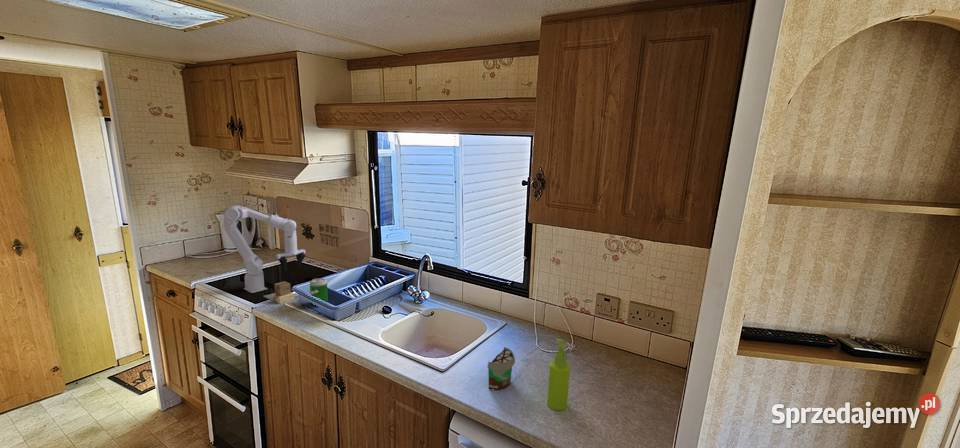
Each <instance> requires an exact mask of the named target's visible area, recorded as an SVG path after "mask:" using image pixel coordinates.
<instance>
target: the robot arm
mask: <svg viewBox="0 0 960 448" xmlns="http://www.w3.org/2000/svg"><path fill="white" fill-rule="evenodd" d="M222 216H223V223H222V224H223V225H222V226H223V227H222V228H223V230H224V231H225V233H226V234H227V236H228V238H229V239H230V241H231V242H232V244H233V245H234V247H235V248H236V251H237V252H238V253H239V255H240V256H241V258H242V260H243V265H244V267H245V272H246V273H245V274H244V288H243V290H246V291H247V292H249V293H252V294H253V293H257V292H262V291H265V290H268V287H265V280H264V279H265V278H264V271H263V269H262V268H263V266H264V261H263V260H262V259H261V258H259V257H258V255H257V254H255V253H254V252H253V251H252V249H251V247H250V246H249V244H248V243H247V240H246V239H245V237H244V236H243V234H242V232H241V231H240V230H239V228H238V223H239V220H240V219H245V218H250V219H251V218H252V219H253V220H254V219H255V220H258V221H262V222H265V223H266V224H267V226H268V227H272V228H276V229H279V230H282V231H284V232H283V233H284V235H283V239H284V252H281V253H278V254H277V253H276V254H275V255H276V259H277V260H278V262H279V263H280V265H281V267H282V270H283V272H288V266H287V265H288V257H293V256H295V257H296V264H297V265H296V267H297V268H299V269H301V268H302V265H303V261H304V260H305V257H306V249H298V238H297V236H298V235H297V230H296V228H297V222H296V221H295V220H293V219H288V218H287V217H286V218H283V217H280V216H279V215H278V214H271V215H267V214H264V213H262V212H259V211H257V210H254V209H252V208H249V207H246V206H242V205H239V204H234V205H232V206H231V207H228V208H227V209H226V210H225V212H224V213H223V215H222Z"/></svg>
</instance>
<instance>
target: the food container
mask: <svg viewBox="0 0 960 448" xmlns="http://www.w3.org/2000/svg"><path fill="white" fill-rule="evenodd" d="M515 363H516V358H515V355H514V352H513V351H512V349H510V348H508V347H506V346H503V350H501V352H500V353H498V354H497V355H496V356H495V358H493V360H492V361H488V363H487V369H488V371H487V372H488V374H487V375H488V389H489V390H491V389H494V390H493V391H502V390H501V389H503V390H506V389H508V388H509V387H510V385H511V379H512V371H513V366H514V365H515ZM508 386H509V387H508ZM507 387H508V388H507ZM505 388H506V389H505Z"/></svg>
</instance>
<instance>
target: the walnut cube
mask: <svg viewBox="0 0 960 448" xmlns="http://www.w3.org/2000/svg"><path fill="white" fill-rule="evenodd" d="M291 292H292V288H291V283H289V282H288V281H285V280H284V281H281V282H277V283H274V293H275V294H276V295H279V296H284V295H288V294H291Z"/></svg>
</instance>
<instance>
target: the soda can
mask: <svg viewBox="0 0 960 448" xmlns="http://www.w3.org/2000/svg"><path fill="white" fill-rule="evenodd" d="M309 293H310V294H311V295H312V296H315V297H317V298H320V299H321V300H324V301H328V302H329V299H328V298H329V296H328V295H329V294H328V293H329V292H328V281H327V280H326V279H325V278H319V277H318V278H313V279H312V280H311V281H310V282H309Z"/></svg>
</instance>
